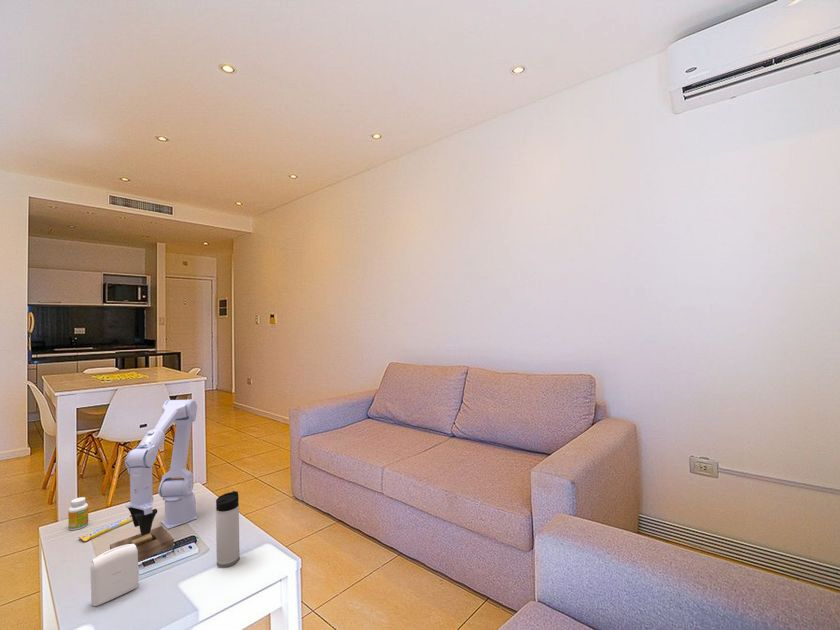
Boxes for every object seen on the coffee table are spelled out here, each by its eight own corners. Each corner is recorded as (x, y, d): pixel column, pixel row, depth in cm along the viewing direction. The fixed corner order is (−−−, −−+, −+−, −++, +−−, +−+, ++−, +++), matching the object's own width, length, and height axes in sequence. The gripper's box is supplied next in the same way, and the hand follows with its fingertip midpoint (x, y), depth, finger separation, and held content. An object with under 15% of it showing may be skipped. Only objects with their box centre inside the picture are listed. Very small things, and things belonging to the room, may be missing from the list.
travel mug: (245, 556, 121) (244, 492, 121) (228, 569, 115) (227, 501, 115) (229, 553, 123) (228, 489, 123) (211, 565, 117) (210, 499, 117)
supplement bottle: (76, 531, 138) (76, 503, 138) (64, 529, 139) (64, 502, 139) (92, 523, 143) (91, 496, 143) (80, 522, 144) (80, 495, 144)
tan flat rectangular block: (150, 549, 126) (150, 533, 126) (152, 552, 124) (152, 536, 124) (131, 556, 122) (131, 540, 122) (133, 559, 121) (133, 543, 121)
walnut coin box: (161, 537, 133) (161, 525, 133) (174, 551, 125) (173, 538, 125) (110, 557, 122) (109, 544, 122) (119, 573, 114) (119, 559, 114)
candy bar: (131, 518, 147) (131, 513, 147) (138, 520, 145) (138, 515, 145) (77, 541, 132) (77, 536, 132) (83, 544, 130) (83, 539, 130)
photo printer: (92, 609, 100) (92, 561, 100) (89, 601, 103) (88, 554, 103) (140, 587, 108) (140, 543, 108) (136, 581, 111) (135, 537, 111)
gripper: (120, 484, 125) (120, 527, 125) (132, 498, 116) (133, 543, 116) (146, 477, 131) (146, 518, 131) (160, 489, 121) (160, 533, 121)
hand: (142, 529), depth 124 cm, fingers open, 7 cm apart
